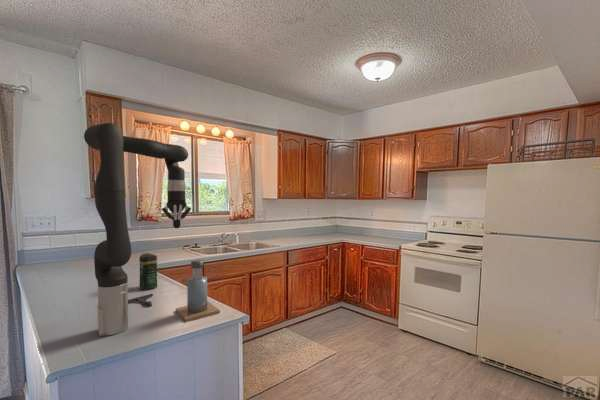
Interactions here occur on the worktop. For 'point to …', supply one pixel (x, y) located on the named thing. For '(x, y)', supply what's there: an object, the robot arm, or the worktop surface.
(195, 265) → the grey dome cap
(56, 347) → the worktop surface
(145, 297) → the bracket
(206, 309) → the soap dispenser
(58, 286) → the worktop surface
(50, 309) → the worktop surface
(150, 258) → the coffee jar
